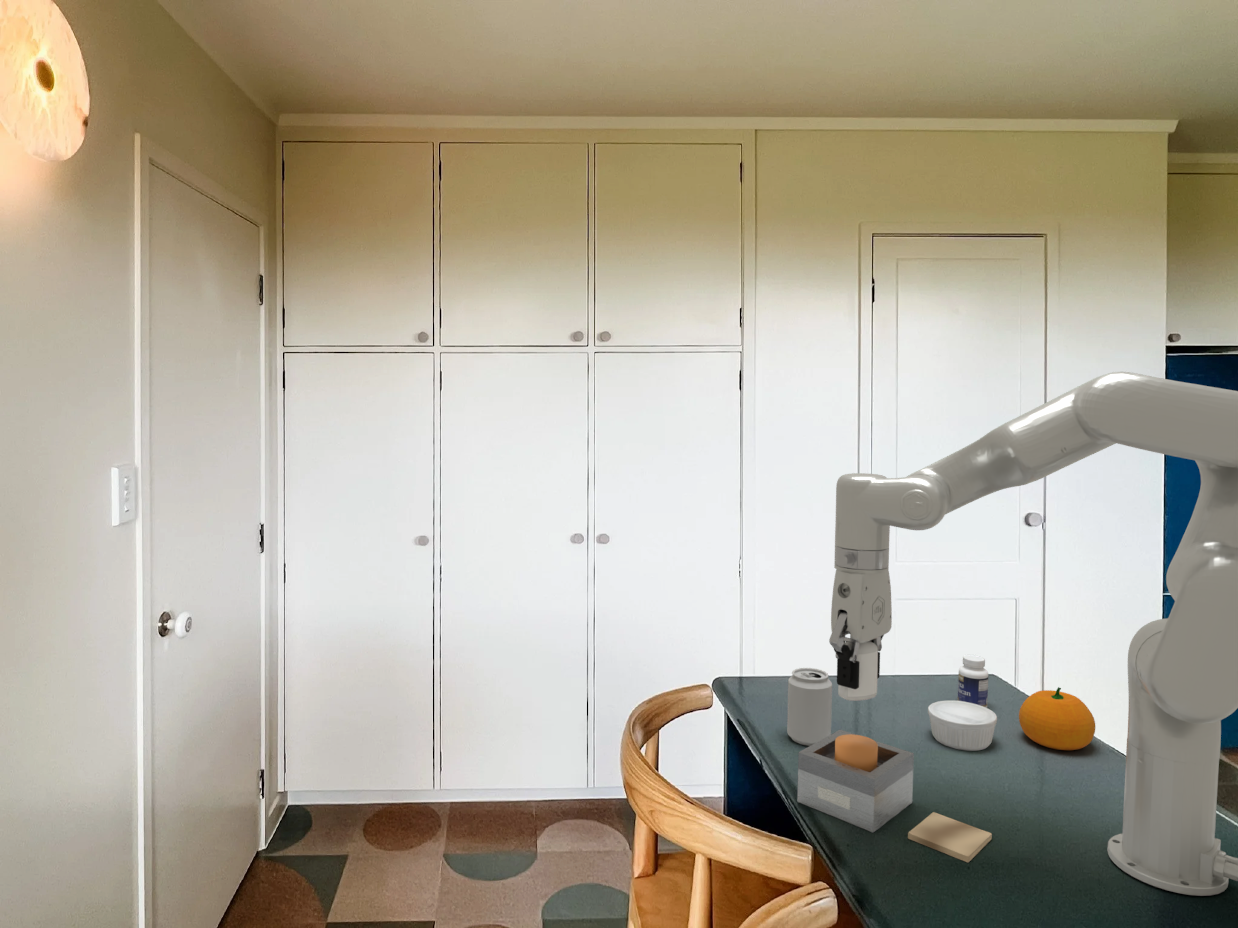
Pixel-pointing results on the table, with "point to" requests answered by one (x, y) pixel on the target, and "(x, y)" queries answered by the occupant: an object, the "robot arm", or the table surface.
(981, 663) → the pill bottle
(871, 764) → the button
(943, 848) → the coaster
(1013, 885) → the table surface
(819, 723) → the can
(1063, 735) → the fruit
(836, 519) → the robot arm
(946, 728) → the ramekin
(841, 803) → the grey box
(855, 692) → the eye dropper bottle
